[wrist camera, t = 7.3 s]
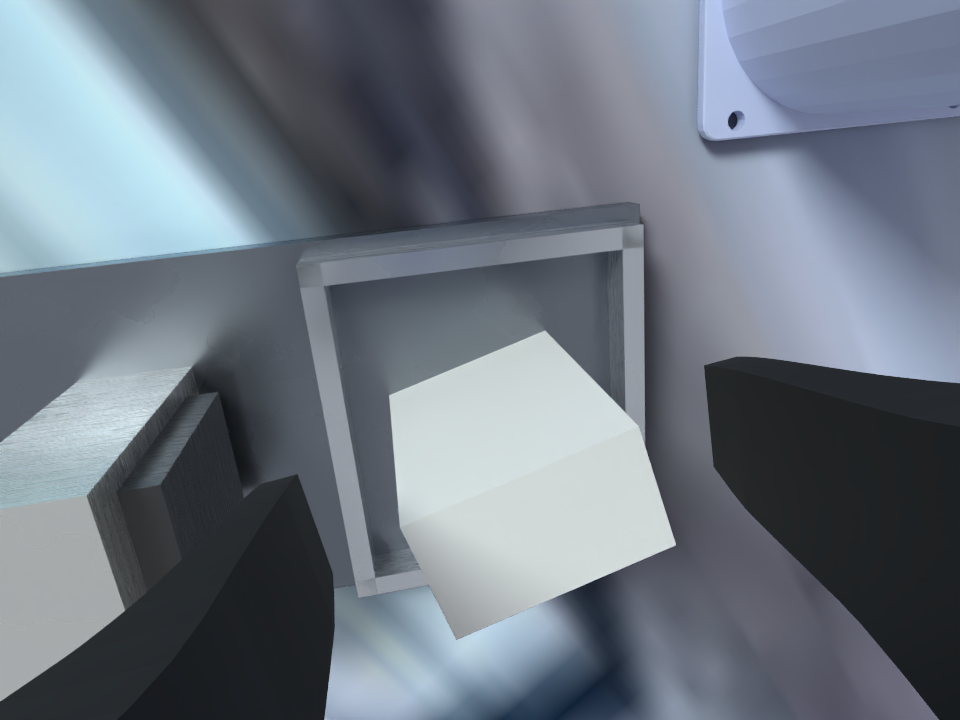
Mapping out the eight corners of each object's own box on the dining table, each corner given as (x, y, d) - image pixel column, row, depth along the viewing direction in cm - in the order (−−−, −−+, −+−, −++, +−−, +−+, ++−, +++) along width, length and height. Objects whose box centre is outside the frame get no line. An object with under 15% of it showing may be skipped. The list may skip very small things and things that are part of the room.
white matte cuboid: (389, 395, 19) (400, 527, 12) (544, 330, 19) (638, 426, 12) (437, 497, 20) (470, 666, 13) (582, 436, 20) (685, 573, 14)
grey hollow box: (629, 202, 19) (792, 234, 12) (633, 519, 23) (760, 696, 15) (-110, 285, 16) (-494, 394, 9) (28, 627, 20) (-168, 902, 13)
